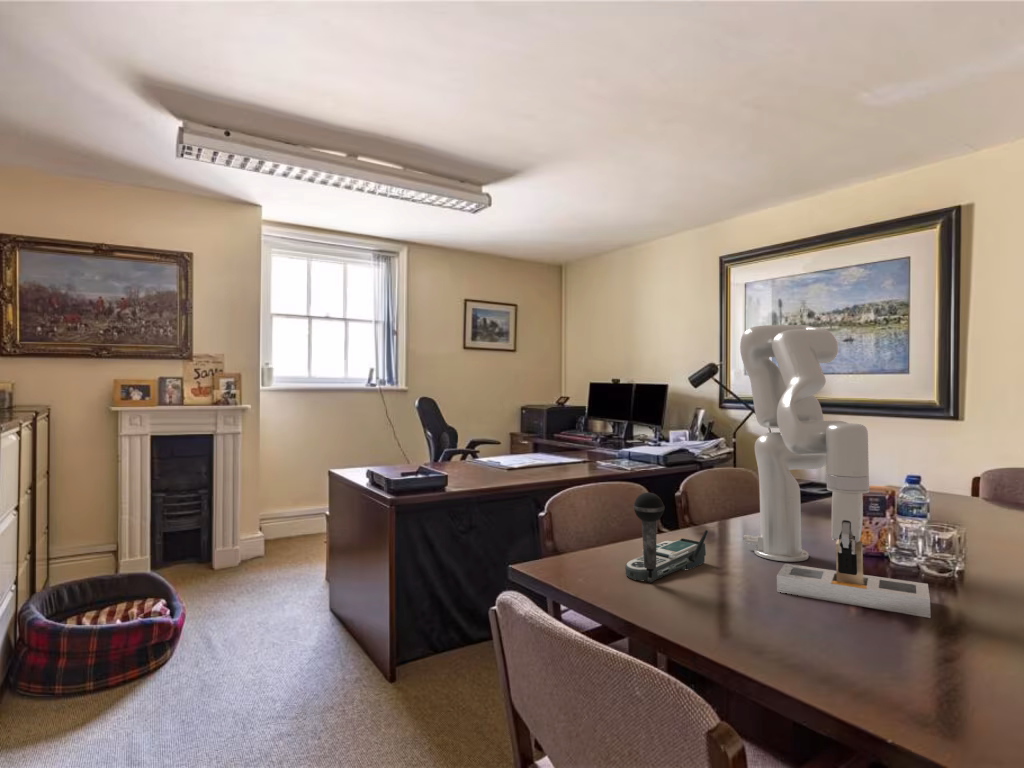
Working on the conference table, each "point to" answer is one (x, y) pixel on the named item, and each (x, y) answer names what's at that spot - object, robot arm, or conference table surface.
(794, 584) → the white slotted block
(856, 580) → the peg
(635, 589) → the conference table surface
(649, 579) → the microphone
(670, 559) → the communication device
